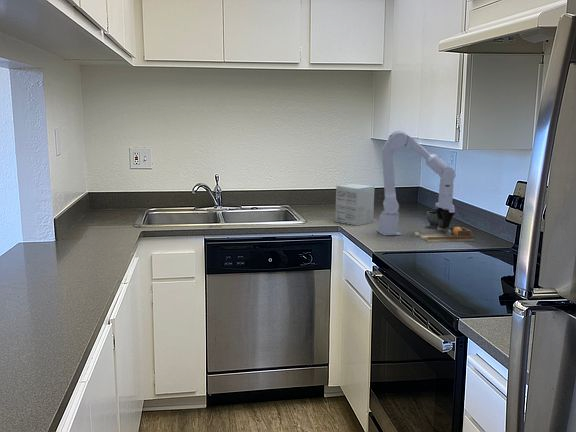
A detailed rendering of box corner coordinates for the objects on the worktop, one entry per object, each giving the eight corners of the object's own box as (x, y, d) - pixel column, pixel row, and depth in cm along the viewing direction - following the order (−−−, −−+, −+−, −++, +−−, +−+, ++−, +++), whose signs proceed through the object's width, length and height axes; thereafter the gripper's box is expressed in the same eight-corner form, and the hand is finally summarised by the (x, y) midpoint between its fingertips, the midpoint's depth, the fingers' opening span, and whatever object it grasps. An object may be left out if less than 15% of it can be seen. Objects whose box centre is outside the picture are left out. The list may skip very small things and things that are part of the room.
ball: (455, 224, 243) (461, 229, 244) (448, 231, 244) (455, 237, 245) (459, 225, 240) (465, 231, 241) (453, 233, 240) (459, 239, 241)
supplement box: (351, 218, 284) (353, 183, 281) (373, 222, 275) (375, 186, 272) (334, 221, 275) (335, 185, 272) (356, 226, 266) (357, 188, 263)
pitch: (413, 234, 250) (413, 224, 249) (456, 233, 254) (456, 224, 253) (428, 242, 235) (428, 232, 234) (473, 241, 238) (474, 231, 237)
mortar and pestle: (441, 230, 258) (442, 204, 256) (422, 227, 264) (423, 201, 262) (452, 227, 267) (453, 201, 265) (433, 224, 273) (435, 199, 271)
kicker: (436, 232, 249) (437, 218, 248) (444, 232, 250) (444, 218, 248) (446, 236, 240) (447, 222, 239) (453, 236, 241) (454, 222, 239)
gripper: (462, 197, 238) (460, 229, 241) (447, 192, 252) (445, 223, 255) (446, 197, 237) (444, 230, 240) (431, 192, 251) (430, 223, 254)
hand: (443, 226), depth 247 cm, fingers open, 4 cm apart
